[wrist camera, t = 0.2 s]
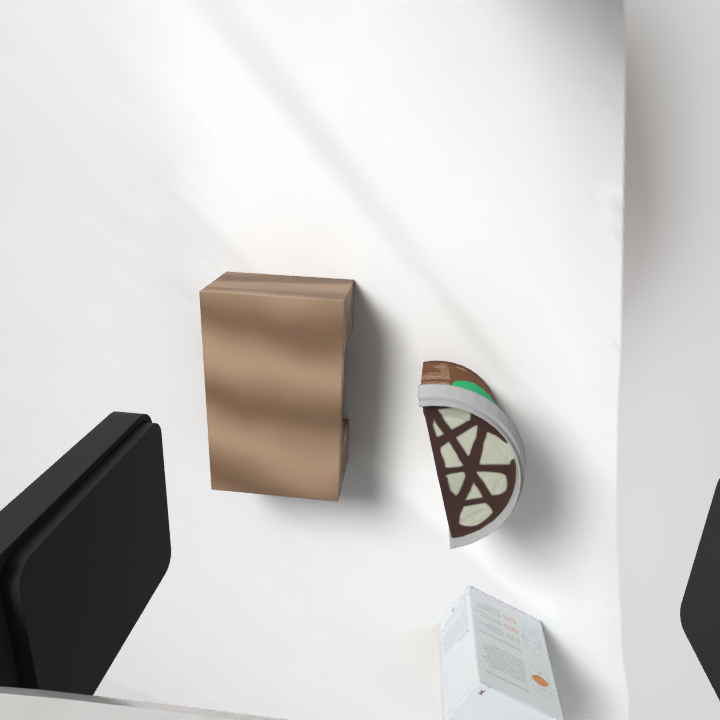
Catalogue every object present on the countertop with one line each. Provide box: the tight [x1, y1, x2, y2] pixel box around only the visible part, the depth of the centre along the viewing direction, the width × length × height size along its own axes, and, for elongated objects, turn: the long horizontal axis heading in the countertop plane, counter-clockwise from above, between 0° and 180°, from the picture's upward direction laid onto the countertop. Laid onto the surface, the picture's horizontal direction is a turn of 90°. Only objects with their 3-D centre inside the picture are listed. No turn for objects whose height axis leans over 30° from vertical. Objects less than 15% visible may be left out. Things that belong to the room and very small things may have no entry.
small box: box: [439, 586, 564, 720], centre depth 52 cm, size 8×6×10 cm
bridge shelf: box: [199, 272, 354, 501], centre depth 47 cm, size 16×10×6 cm, turn 178°
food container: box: [418, 361, 525, 549], centre depth 44 cm, size 12×6×10 cm, turn 13°
